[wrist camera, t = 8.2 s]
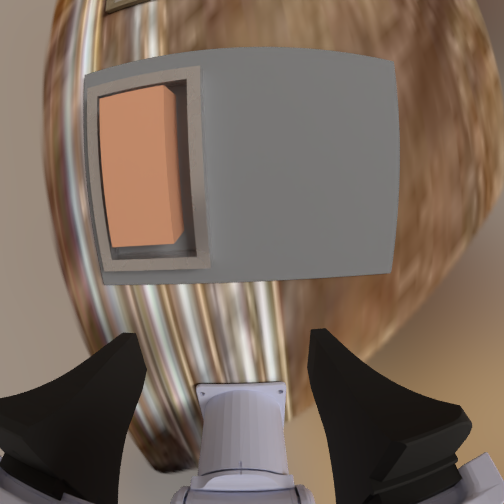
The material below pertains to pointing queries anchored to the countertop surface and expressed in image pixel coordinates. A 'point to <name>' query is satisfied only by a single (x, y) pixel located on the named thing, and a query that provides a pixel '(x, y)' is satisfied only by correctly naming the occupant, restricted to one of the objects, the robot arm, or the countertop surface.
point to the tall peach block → (141, 167)
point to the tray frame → (198, 174)
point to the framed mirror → (120, 4)
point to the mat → (282, 164)
